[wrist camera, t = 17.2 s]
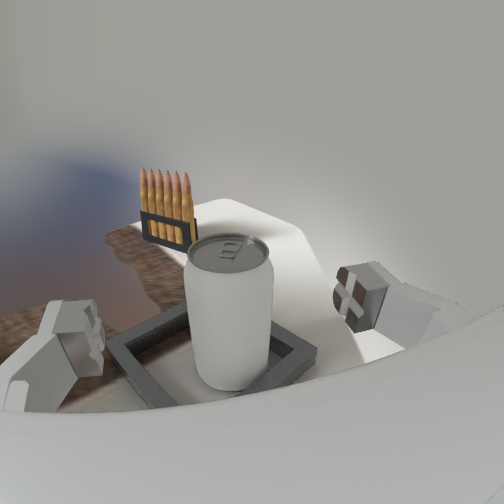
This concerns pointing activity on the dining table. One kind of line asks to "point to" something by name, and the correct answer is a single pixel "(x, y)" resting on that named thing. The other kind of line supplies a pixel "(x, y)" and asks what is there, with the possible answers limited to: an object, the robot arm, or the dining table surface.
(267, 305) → the can
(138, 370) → the dark grey square frame
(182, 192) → the ammunition clip
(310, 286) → the dining table surface
